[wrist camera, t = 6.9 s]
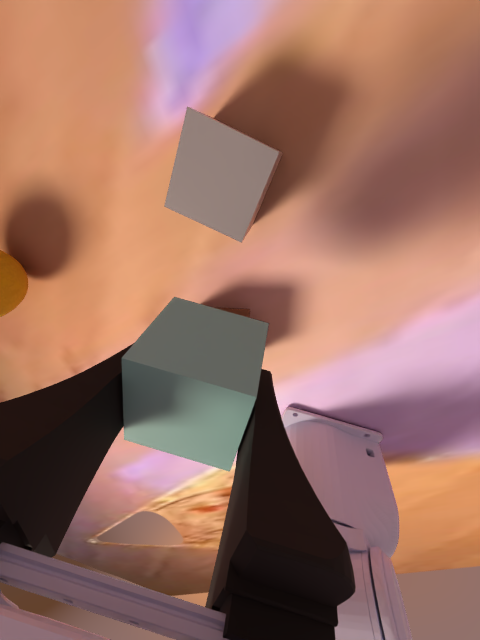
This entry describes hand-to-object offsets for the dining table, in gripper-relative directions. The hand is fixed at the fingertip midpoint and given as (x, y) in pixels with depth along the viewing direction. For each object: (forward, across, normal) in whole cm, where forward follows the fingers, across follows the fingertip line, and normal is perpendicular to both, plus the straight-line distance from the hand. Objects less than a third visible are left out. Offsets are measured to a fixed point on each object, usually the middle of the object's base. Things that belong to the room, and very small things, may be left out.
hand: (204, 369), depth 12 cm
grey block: (+10, +2, -7) cm, 12 cm away
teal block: (+2, 0, 0) cm, 2 cm away
